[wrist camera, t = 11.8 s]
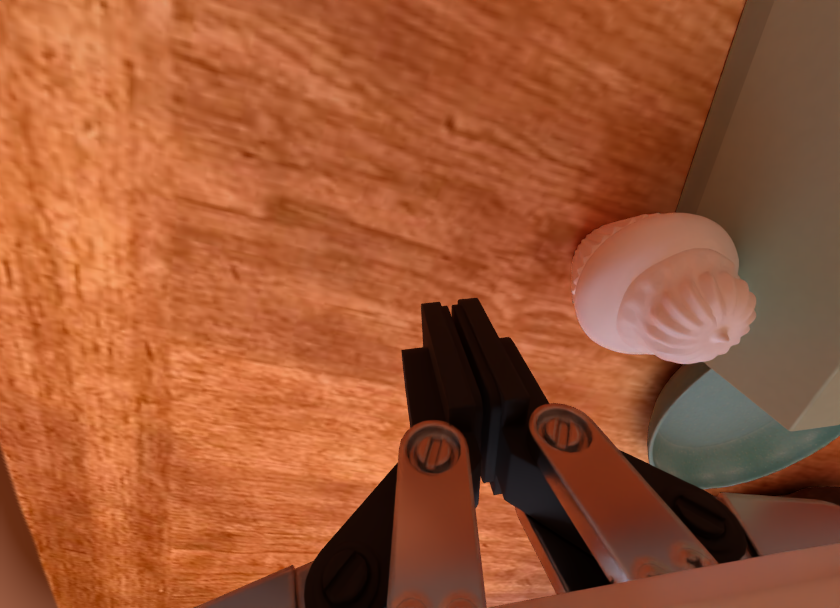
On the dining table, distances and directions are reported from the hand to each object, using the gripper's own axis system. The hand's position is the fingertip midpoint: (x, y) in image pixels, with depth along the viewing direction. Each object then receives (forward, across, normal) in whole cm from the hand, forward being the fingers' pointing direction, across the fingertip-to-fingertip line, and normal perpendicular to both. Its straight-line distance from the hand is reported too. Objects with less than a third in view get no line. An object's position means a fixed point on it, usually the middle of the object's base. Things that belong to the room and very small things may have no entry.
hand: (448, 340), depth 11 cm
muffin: (+6, -9, +1) cm, 11 cm away
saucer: (+6, -20, +12) cm, 24 cm away
